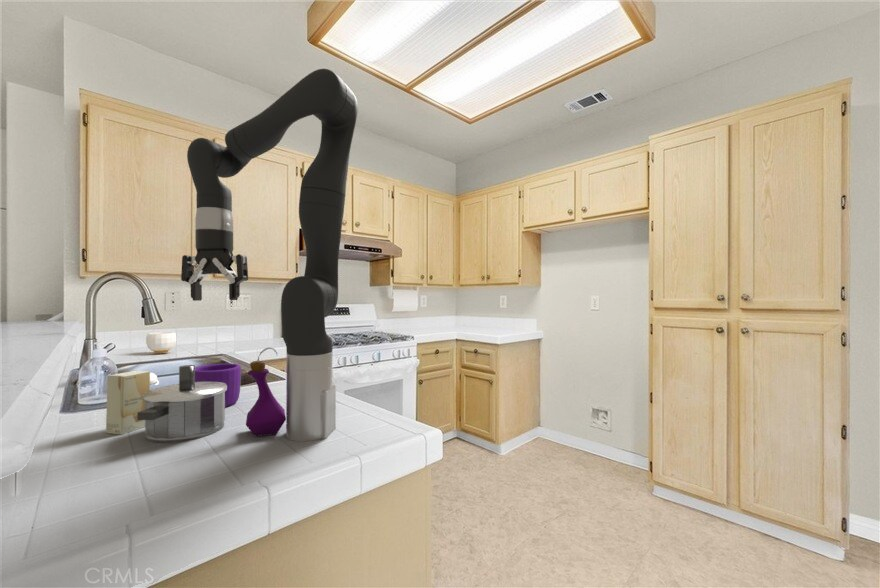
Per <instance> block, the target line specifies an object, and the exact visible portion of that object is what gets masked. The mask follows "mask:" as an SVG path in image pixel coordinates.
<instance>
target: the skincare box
mask: <svg viewBox="0 0 880 588" xmlns="http://www.w3.org/2000/svg"><path fill="white" fill-rule="evenodd" d="M150 373H151V371H147V370H133V371H128V372H121V373H114V374H109V375H107V378H106V380H107V383H106V385H107V386H106V418H105V419H106V420H105V423H106V424H105V433H106V434H114V435H124V434H125V435H126V434H127V433H131V432H133V431H137V430H140V429H143V428H145V420H137V419H138V412H140V411H143V410H145V401H143V394H144V393H145V392H147V391H149V390H151V388H150V387H151V385H150Z"/></svg>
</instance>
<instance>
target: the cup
mask: <svg viewBox="0 0 880 588" xmlns="http://www.w3.org/2000/svg"><path fill="white" fill-rule="evenodd" d="M145 340H146V341H145V344H146V347H147V349H149V350H150V351H151V352H154V353H155V354H163V353H168V352H169V351H170V350H173V348H175V346H176V345H177V344H176V343H177V334H176V332H175V331H157V332H149V333H147V335H146V338H145Z"/></svg>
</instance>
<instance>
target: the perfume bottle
mask: <svg viewBox="0 0 880 588" xmlns="http://www.w3.org/2000/svg"><path fill="white" fill-rule="evenodd" d="M267 350H272V351H274V352H275V354H276V355H278V352H277V350H276V349H275V348H274V347H272V346H271V347H269V346H268V347H265V348H264V349H263V350H261V351H260V352H259V355H258V357H257V360H254V361H252V362H250V363H249V366H250V369H251V370H249V371H247V375H248V376H250V377H252V378H253V379H254V381H255V383H256V384H257V389H258V398H257V400H256V401H255V403H254V405H252V407H251V408H250V410H249V411H248V412H247V415H246V420H245V426H246V428H247V429H248V430H249V431H250V433H252V434H253V436H255V437H264V436H270V435H271V436H272V435H276V434H278V433H279V431H280V430H281V428H282V426H283V425H284V424H285V422H286V412H285V408H283V407H282V406H283V405H281V404H280V403H279V402H278V400H277V399H276V397H275V396H274V395H273V393H272V390H271V388H270V386H269V384H268V382H267V374H270V370H269V368H266V363H265V362H264V361H261V360H260V356H261V355H262V353H264V352H265V351H267Z"/></svg>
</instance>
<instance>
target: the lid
mask: <svg viewBox="0 0 880 588" xmlns="http://www.w3.org/2000/svg"><path fill="white" fill-rule="evenodd" d="M195 368H196V366H195V364H185V365H180V366H179V367H178V383H176V384H175V383H174V384H168V385H163V386H160V387H156V388H155V387H154V388H152V389H150V390H149V391H147V392H145V393H144V394H143V401H145V402H149V403H177V402H187V401H194V400H199V399H204V398H209V397H213V396H216V395H219V394H221V393H223V392H225V391H226V390H227V384H225V383H222V382H209V381H207V382H195Z"/></svg>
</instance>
